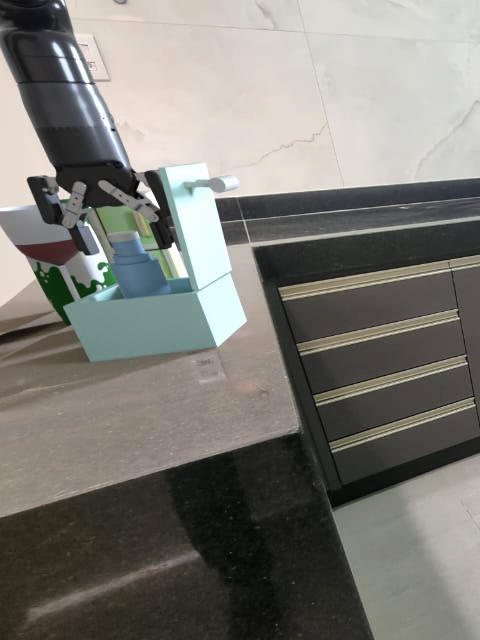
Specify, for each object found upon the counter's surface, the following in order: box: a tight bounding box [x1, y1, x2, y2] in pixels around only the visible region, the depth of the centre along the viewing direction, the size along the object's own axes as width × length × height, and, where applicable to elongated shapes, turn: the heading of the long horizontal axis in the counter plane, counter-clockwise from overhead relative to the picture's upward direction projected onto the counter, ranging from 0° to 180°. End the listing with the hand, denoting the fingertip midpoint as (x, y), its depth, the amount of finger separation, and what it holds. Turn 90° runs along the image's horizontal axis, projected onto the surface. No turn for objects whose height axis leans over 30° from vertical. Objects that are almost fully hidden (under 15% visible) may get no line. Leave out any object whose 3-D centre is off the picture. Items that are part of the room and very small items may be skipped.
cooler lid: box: [157, 162, 240, 290], centre depth 76 cm, size 16×12×6 cm
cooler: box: [63, 272, 248, 363], centre depth 78 cm, size 15×12×9 cm
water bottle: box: [107, 231, 172, 299], centre depth 76 cm, size 5×5×16 cm
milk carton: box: [25, 198, 117, 327], centre depth 89 cm, size 9×9×20 cm
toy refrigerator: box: [87, 190, 189, 279], centre depth 87 cm, size 8×7×21 cm
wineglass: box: [0, 203, 81, 301], centre depth 83 cm, size 8×9×20 cm
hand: (130, 251), depth 74 cm, fingers open, 8 cm apart
